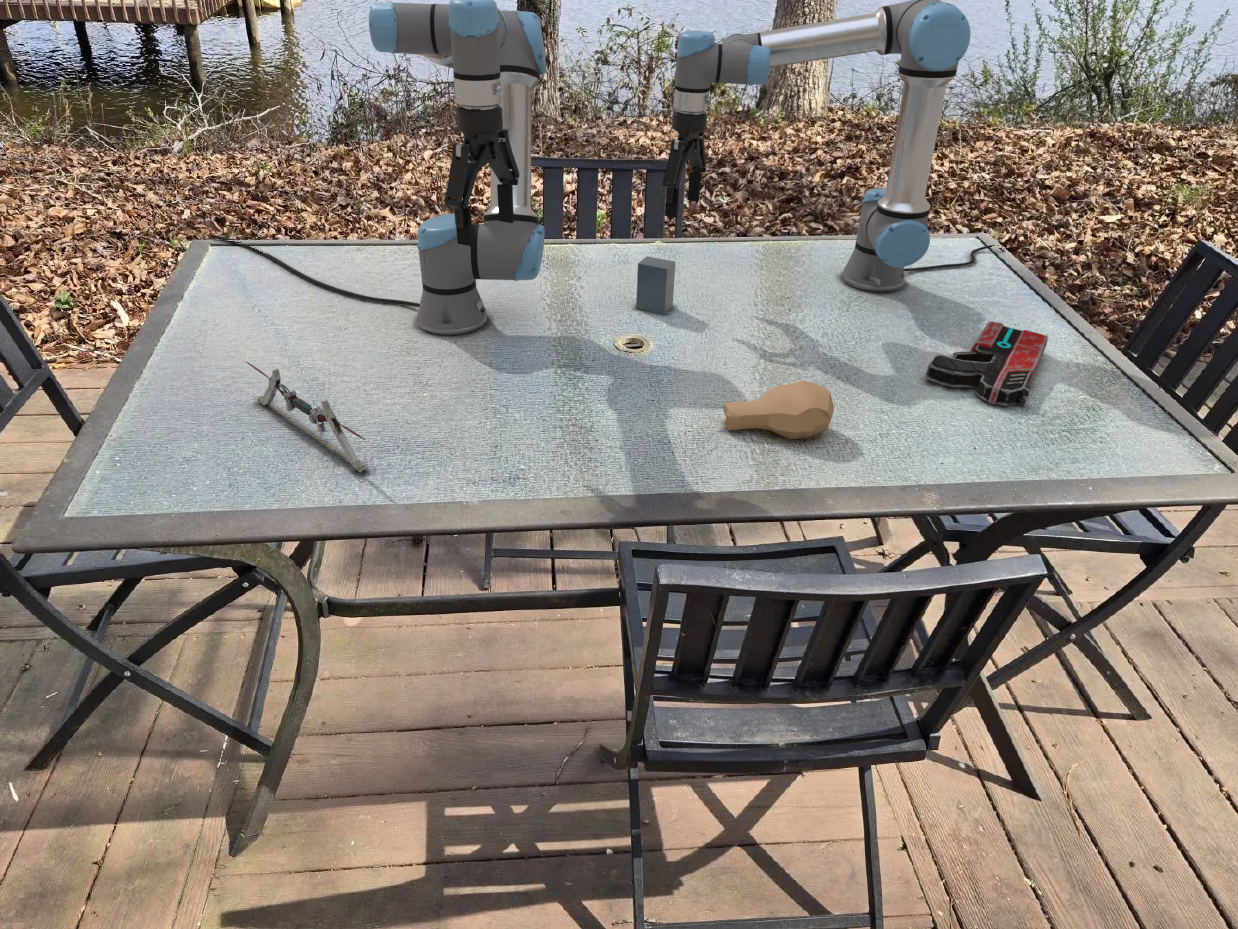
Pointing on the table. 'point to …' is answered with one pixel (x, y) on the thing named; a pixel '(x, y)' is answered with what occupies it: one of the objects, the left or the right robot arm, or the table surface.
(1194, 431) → the table surface
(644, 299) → the brick
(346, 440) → the bow
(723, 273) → the table surface
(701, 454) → the table surface
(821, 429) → the squash
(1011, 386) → the gun
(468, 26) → the left robot arm
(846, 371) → the table surface
